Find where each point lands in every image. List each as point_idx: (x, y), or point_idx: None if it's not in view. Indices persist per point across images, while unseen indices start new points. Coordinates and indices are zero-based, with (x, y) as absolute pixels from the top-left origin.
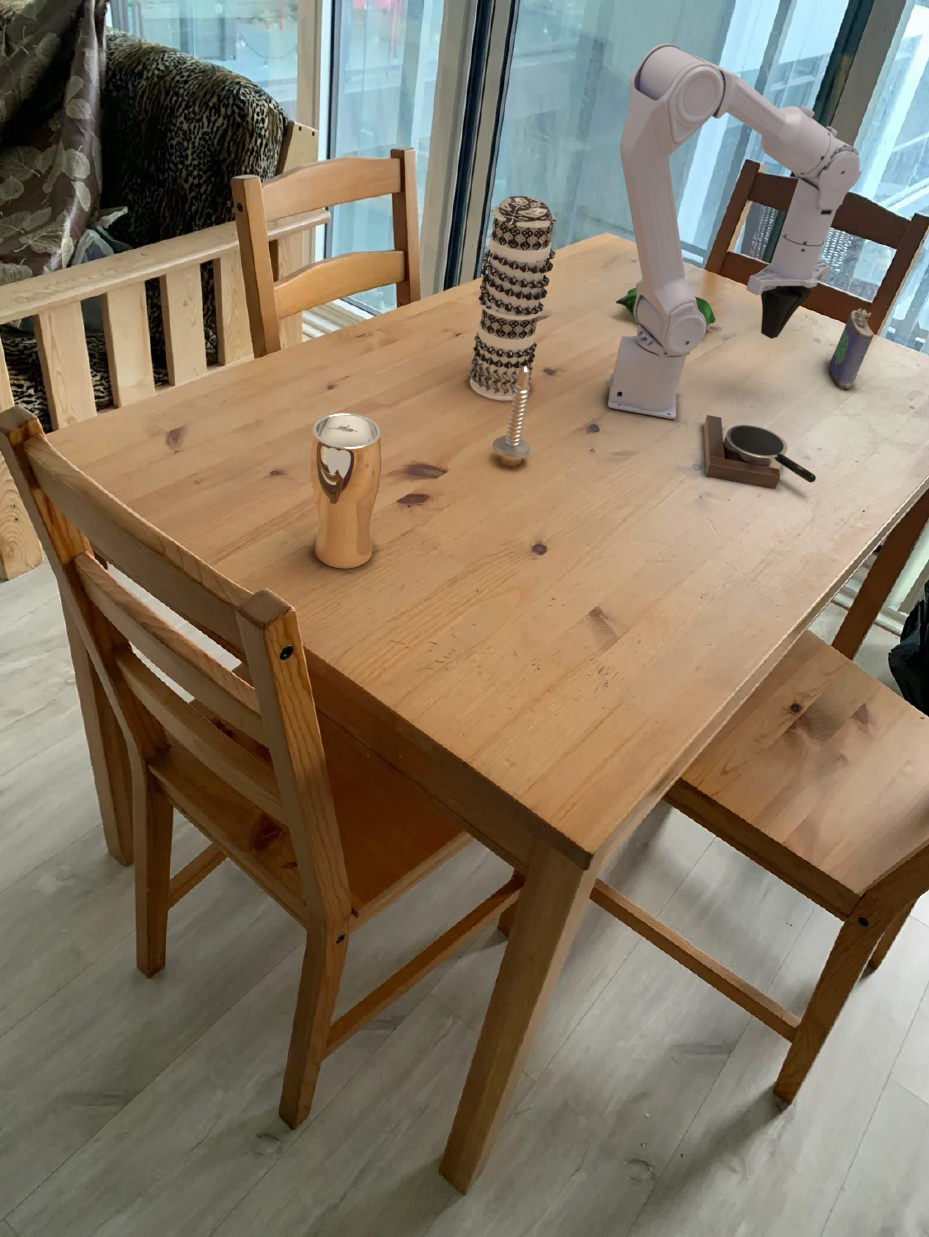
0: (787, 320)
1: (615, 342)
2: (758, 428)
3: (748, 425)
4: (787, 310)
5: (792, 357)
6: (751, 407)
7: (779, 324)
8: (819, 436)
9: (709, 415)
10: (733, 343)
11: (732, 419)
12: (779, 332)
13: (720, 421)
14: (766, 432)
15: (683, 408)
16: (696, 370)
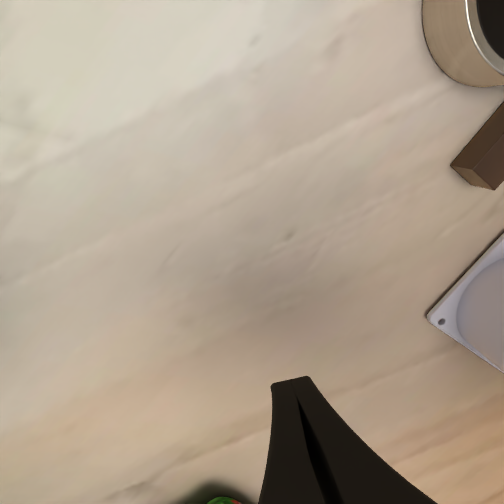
0: (280, 443)
1: None
2: (491, 39)
3: (501, 69)
4: (361, 494)
5: (13, 410)
6: (291, 231)
7: (329, 422)
8: (203, 40)
9: (492, 185)
10: (135, 470)
11: (380, 194)
12: (283, 396)
13: (491, 151)
14: (490, 6)
15: (448, 263)
16: None
